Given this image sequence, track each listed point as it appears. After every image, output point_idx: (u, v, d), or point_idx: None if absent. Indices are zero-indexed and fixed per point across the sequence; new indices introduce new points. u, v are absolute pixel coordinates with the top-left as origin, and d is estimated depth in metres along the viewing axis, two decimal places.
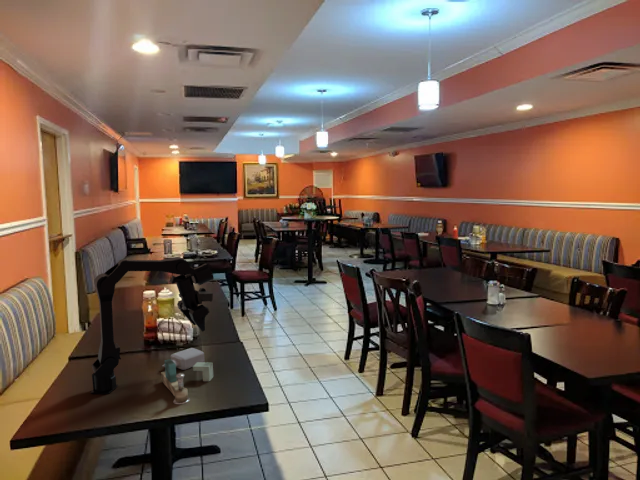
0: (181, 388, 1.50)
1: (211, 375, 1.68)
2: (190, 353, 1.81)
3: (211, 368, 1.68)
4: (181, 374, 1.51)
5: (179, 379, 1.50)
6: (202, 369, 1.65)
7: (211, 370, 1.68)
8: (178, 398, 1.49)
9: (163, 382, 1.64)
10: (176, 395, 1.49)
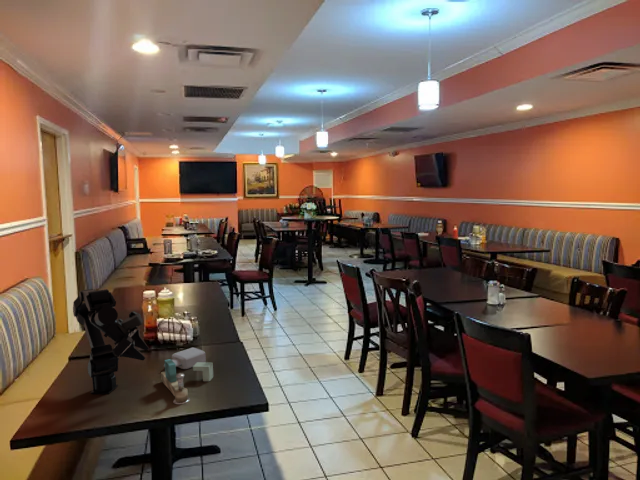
0: (181, 388, 1.50)
1: (211, 375, 1.68)
2: (191, 353, 1.81)
3: (211, 368, 1.68)
4: (181, 374, 1.51)
5: (179, 379, 1.50)
6: (202, 369, 1.65)
7: (211, 370, 1.68)
8: (178, 398, 1.49)
9: (163, 382, 1.64)
10: (176, 395, 1.49)
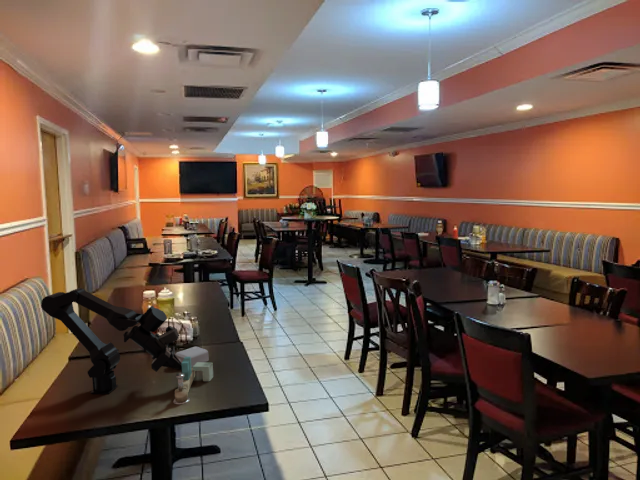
0: (181, 388, 1.50)
1: (211, 375, 1.68)
2: (194, 352, 1.82)
3: (211, 368, 1.68)
4: (181, 374, 1.51)
5: (179, 379, 1.50)
6: (202, 369, 1.65)
7: (211, 370, 1.68)
8: (176, 398, 1.50)
9: None
10: (175, 394, 1.50)
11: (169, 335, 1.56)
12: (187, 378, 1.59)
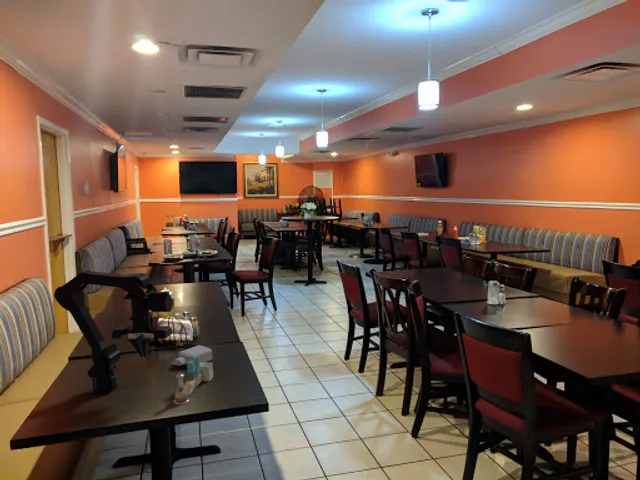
0: (181, 388, 1.50)
1: (211, 375, 1.68)
2: (198, 350, 1.84)
3: (211, 368, 1.68)
4: (181, 374, 1.51)
5: (179, 379, 1.50)
6: (202, 369, 1.65)
7: (211, 370, 1.68)
8: (175, 397, 1.50)
9: None
10: None
11: (157, 318, 1.62)
12: (192, 378, 1.59)
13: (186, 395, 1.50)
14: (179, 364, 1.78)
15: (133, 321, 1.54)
